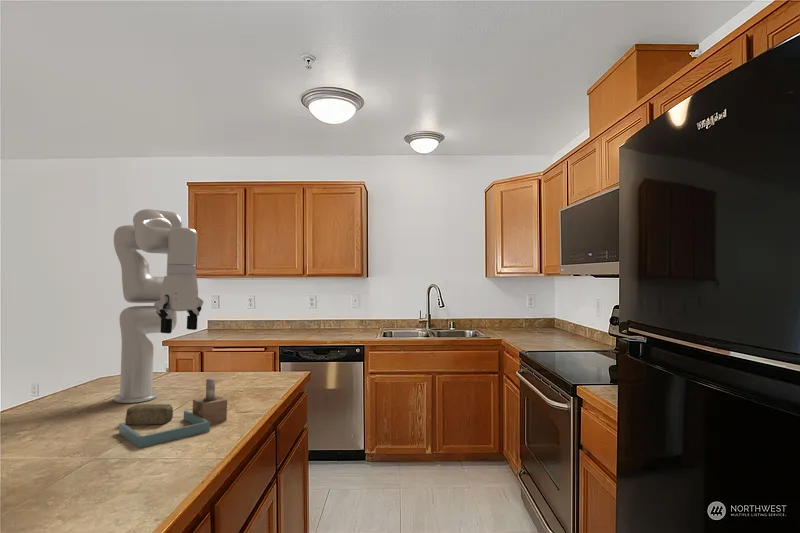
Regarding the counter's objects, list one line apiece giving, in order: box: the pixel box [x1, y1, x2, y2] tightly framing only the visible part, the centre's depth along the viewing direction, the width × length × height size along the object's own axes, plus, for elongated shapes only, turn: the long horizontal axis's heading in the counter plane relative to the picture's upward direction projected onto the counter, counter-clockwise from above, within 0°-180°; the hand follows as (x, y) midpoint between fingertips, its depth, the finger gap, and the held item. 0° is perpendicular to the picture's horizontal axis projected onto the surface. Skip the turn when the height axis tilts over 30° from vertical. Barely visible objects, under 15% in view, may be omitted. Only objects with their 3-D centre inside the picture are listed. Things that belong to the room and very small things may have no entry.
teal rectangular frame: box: [118, 410, 211, 449], centre depth 122 cm, size 15×18×2 cm
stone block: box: [124, 403, 174, 426], centre depth 130 cm, size 6×12×5 cm, turn 96°
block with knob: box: [192, 377, 228, 425], centre depth 133 cm, size 7×7×12 cm
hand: (179, 331), depth 128 cm, fingers open, 9 cm apart
